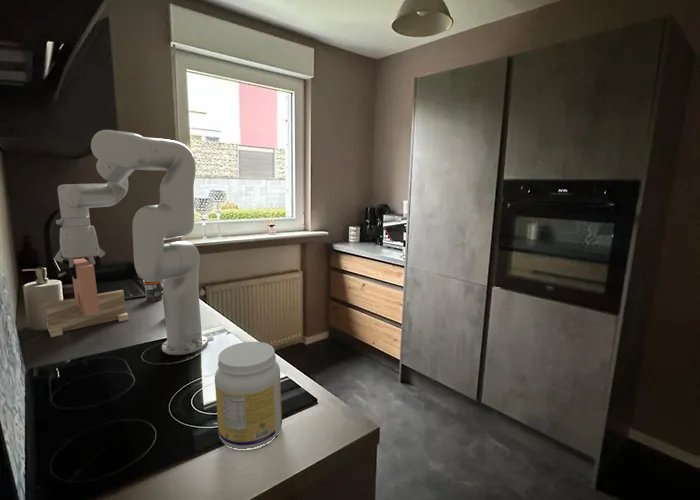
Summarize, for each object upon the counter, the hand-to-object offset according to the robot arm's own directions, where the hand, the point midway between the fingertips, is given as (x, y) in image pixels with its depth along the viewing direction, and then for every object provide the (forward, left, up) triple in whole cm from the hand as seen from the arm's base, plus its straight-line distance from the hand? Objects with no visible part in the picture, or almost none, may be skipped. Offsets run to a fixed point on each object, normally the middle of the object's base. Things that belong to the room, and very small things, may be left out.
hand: (83, 276), depth 127 cm
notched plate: (0, 0, -11) cm, 11 cm away
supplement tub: (-89, -11, -17) cm, 91 cm away
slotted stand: (0, 0, -17) cm, 17 cm away
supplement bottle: (+14, -25, -17) cm, 33 cm away
